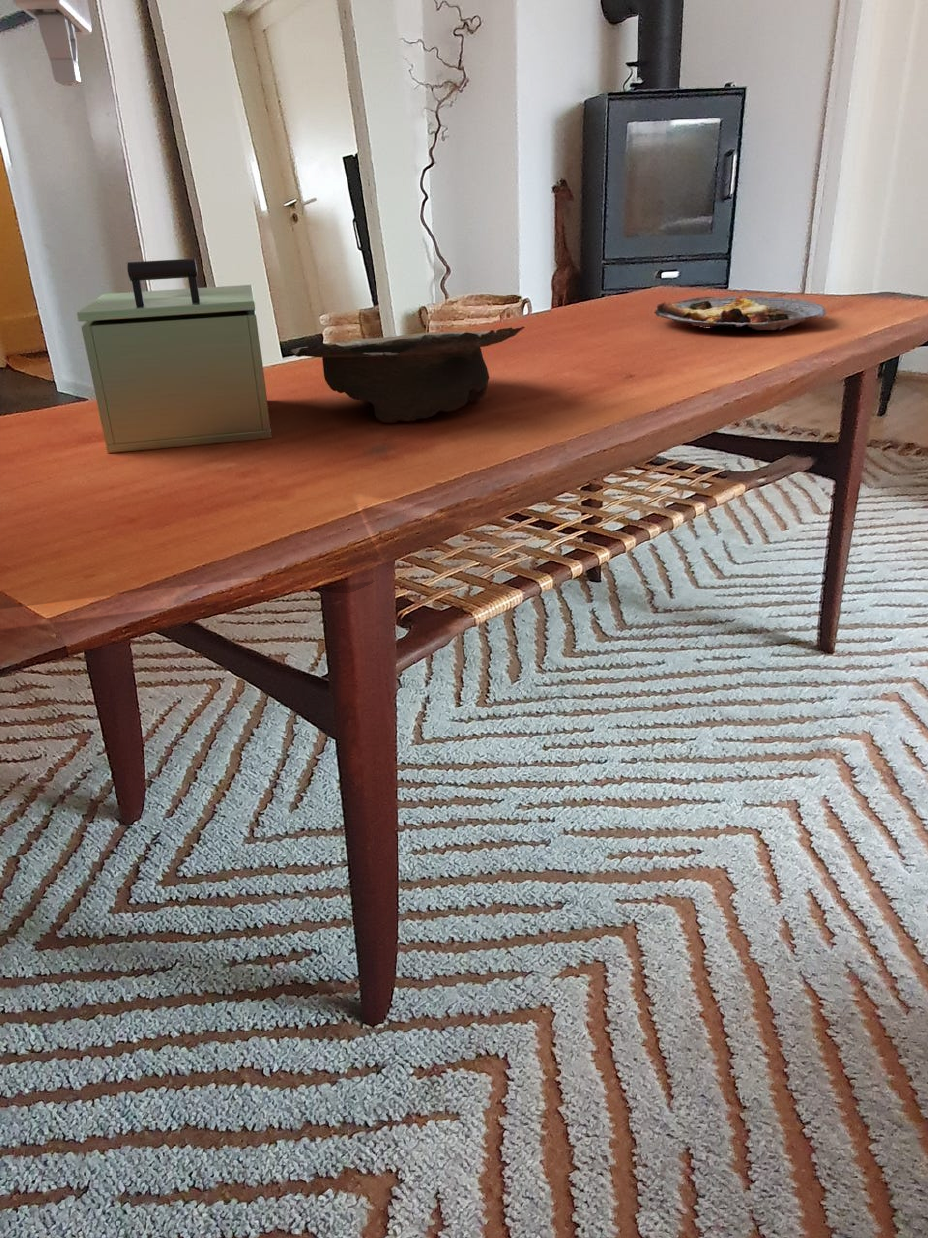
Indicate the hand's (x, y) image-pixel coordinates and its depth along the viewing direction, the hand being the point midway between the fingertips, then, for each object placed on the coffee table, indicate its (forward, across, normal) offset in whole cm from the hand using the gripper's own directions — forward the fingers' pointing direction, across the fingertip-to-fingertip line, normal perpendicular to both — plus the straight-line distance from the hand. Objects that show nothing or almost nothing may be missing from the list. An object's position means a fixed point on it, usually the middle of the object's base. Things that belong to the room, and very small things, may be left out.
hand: (68, 84), depth 80 cm
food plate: (+31, -39, +85) cm, 99 cm away
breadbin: (+31, -4, +5) cm, 32 cm away
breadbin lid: (+19, -4, +5) cm, 20 cm away
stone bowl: (+31, -5, +28) cm, 43 cm away
